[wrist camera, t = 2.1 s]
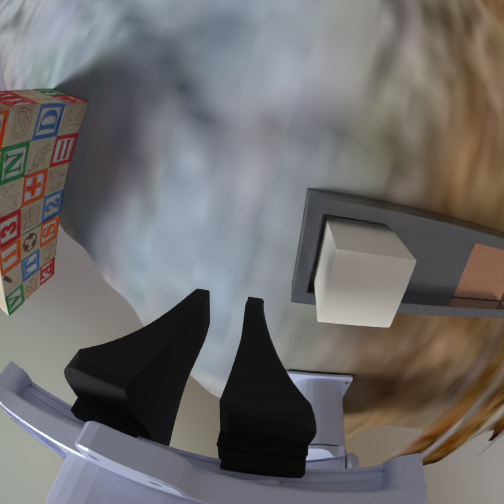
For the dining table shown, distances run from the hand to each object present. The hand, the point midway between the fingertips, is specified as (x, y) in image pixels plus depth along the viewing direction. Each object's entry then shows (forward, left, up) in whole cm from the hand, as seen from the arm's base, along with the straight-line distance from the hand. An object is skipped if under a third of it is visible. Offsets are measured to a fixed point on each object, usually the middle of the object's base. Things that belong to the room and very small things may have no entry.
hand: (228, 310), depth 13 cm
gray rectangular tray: (0, -16, -9) cm, 18 cm away
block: (0, -8, -9) cm, 12 cm away
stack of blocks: (+2, +23, -10) cm, 25 cm away
